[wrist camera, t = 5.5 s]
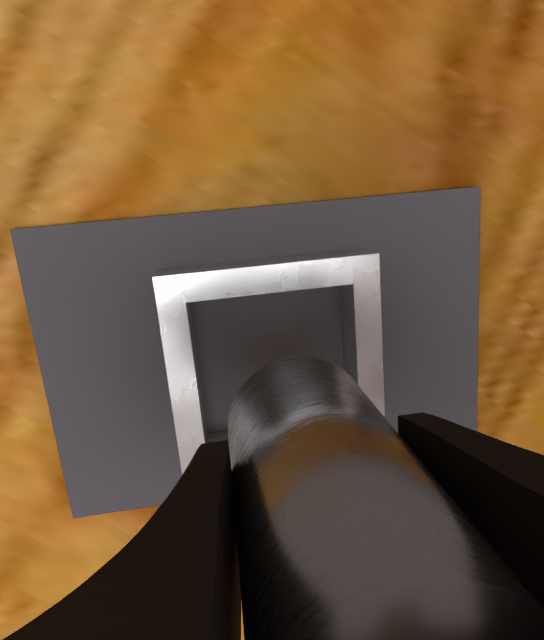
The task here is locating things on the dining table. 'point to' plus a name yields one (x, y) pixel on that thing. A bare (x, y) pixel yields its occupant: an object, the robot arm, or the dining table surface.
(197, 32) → the dining table surface
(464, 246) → the dock mat
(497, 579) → the grey upright cylinder
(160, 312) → the steel socket
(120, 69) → the dining table surface
